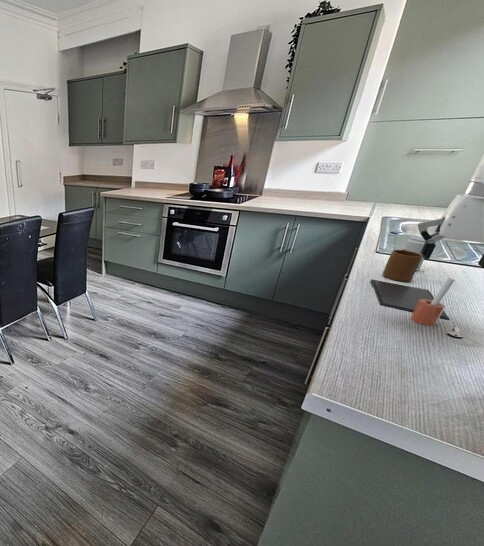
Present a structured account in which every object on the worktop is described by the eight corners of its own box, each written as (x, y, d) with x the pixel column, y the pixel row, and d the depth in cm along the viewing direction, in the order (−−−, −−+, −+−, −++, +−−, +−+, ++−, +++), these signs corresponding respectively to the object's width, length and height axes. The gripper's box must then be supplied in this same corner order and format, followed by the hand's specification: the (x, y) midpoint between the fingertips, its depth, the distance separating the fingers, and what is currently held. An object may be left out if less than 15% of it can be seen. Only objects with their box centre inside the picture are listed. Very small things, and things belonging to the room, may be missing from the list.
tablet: (427, 292, 100) (428, 289, 100) (448, 321, 84) (450, 318, 84) (370, 281, 108) (371, 278, 107) (379, 306, 92) (380, 303, 91)
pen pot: (431, 321, 84) (442, 302, 82) (436, 329, 81) (447, 309, 78) (408, 316, 86) (417, 297, 84) (411, 323, 83) (421, 304, 81)
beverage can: (422, 272, 116) (438, 241, 111) (400, 270, 118) (414, 239, 113) (412, 266, 121) (427, 237, 116) (392, 264, 123) (405, 235, 118)
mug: (380, 268, 119) (390, 245, 115) (407, 273, 114) (419, 249, 111) (382, 278, 110) (393, 253, 107) (412, 284, 106) (425, 258, 102)
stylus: (425, 320, 83) (454, 279, 77) (426, 323, 83) (455, 281, 76) (418, 319, 84) (447, 277, 78) (419, 321, 83) (448, 279, 77)
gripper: (544, 193, 68) (499, 265, 75) (431, 186, 77) (401, 250, 84) (564, 198, 62) (514, 275, 69) (440, 189, 72) (407, 258, 78)
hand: (452, 262), depth 77 cm, fingers open, 9 cm apart
